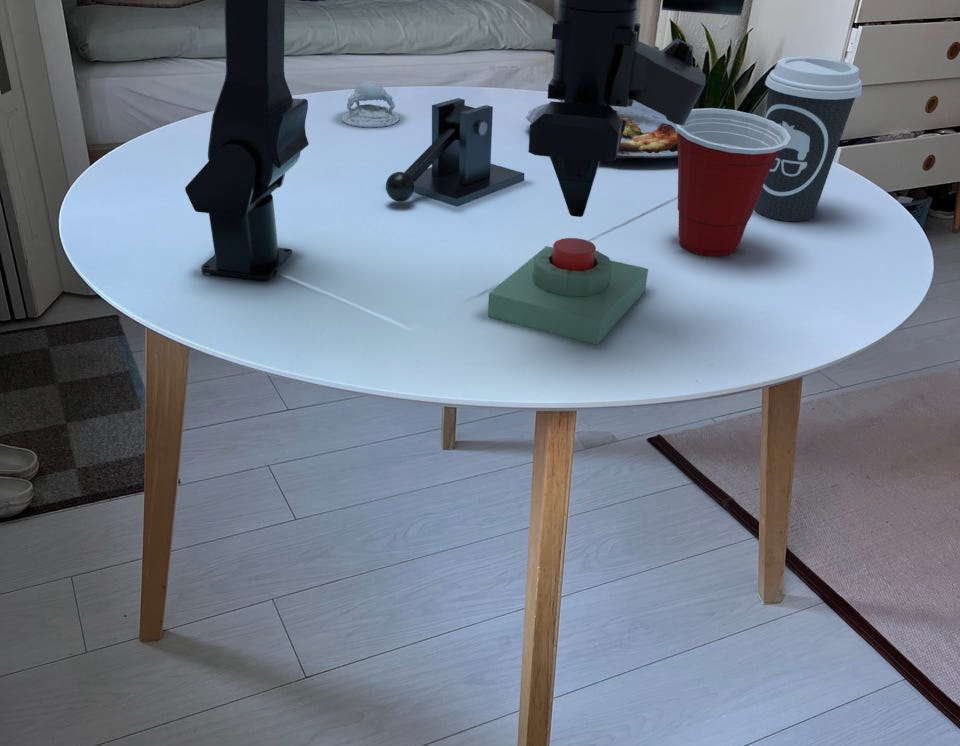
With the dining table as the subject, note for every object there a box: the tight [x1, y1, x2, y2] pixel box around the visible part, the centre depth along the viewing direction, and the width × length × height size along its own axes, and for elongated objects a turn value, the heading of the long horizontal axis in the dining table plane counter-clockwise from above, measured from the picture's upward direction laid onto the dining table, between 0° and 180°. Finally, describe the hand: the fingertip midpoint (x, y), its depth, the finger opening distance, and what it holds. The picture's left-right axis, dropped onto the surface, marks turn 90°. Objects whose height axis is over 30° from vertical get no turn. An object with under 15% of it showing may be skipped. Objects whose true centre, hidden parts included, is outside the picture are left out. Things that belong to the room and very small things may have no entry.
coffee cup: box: [754, 56, 863, 222], centre depth 97 cm, size 10×10×15 cm
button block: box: [487, 245, 649, 346], centre depth 79 cm, size 12×10×4 cm
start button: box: [552, 237, 597, 271], centre depth 78 cm, size 4×4×2 cm
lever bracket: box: [413, 97, 525, 207], centre depth 101 cm, size 12×9×9 cm
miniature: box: [341, 80, 400, 128], centre depth 124 cm, size 8×8×5 cm
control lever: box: [385, 104, 475, 203], centre depth 98 cm, size 14×3×3 cm, turn 141°
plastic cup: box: [674, 107, 791, 258], centre depth 88 cm, size 11×11×12 cm
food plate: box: [525, 100, 678, 160], centre depth 119 cm, size 25×23×4 cm
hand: (576, 215), depth 76 cm, fingers closed
